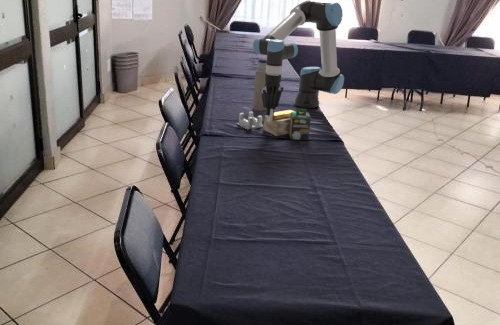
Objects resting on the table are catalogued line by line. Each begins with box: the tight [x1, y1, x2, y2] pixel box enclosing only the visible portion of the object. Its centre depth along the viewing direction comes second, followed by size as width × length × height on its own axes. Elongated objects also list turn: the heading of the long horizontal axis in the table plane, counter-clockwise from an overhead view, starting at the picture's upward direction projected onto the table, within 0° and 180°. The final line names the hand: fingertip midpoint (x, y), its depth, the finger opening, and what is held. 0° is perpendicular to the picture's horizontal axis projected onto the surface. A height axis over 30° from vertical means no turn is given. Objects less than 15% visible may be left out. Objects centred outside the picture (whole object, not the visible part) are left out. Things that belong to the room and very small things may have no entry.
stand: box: [236, 111, 264, 131], centre depth 230 cm, size 10×9×6 cm
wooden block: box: [270, 109, 295, 124], centre depth 225 cm, size 14×4×4 cm, turn 127°
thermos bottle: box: [252, 59, 267, 112], centre depth 257 cm, size 8×8×28 cm
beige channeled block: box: [263, 114, 290, 137], centre depth 227 cm, size 16×10×8 cm, turn 127°
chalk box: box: [288, 108, 312, 141], centre depth 218 cm, size 9×9×15 cm
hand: (269, 121), depth 221 cm, fingers closed
